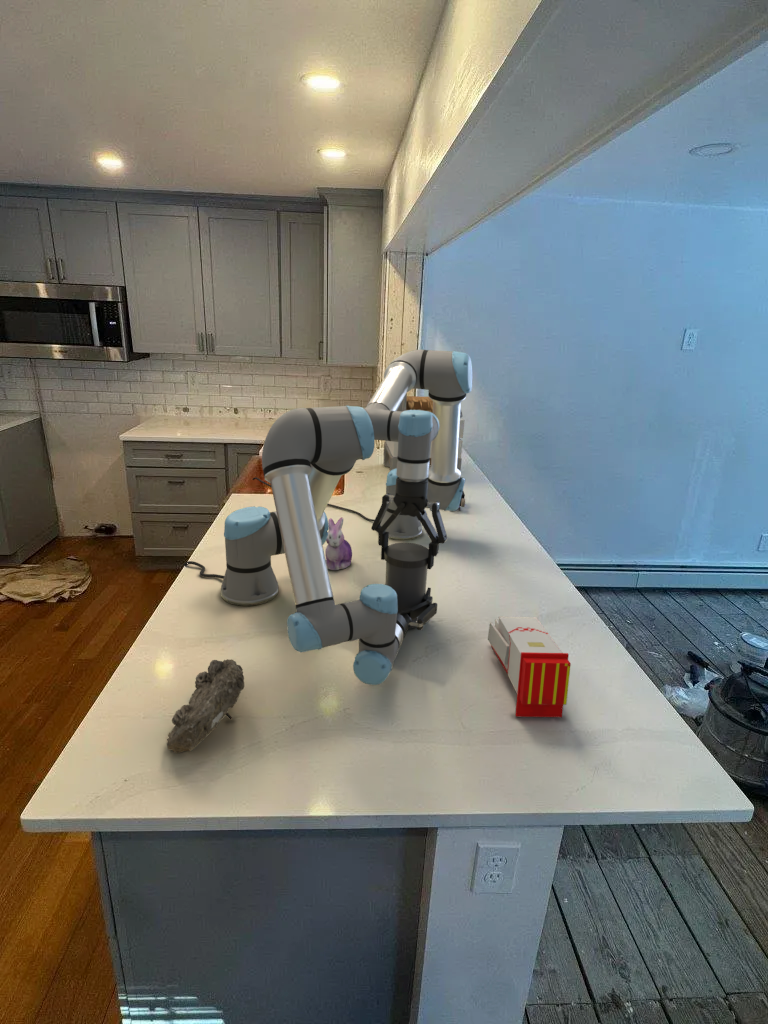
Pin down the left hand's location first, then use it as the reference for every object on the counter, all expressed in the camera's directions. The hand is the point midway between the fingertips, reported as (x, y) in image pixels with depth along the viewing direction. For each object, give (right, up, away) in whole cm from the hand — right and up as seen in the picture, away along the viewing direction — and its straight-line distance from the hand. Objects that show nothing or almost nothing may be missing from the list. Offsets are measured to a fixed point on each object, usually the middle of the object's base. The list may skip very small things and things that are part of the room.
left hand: (408, 589), depth 147 cm
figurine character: (+22, +22, +83) cm, 89 cm away
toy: (+24, -16, -23) cm, 36 cm away
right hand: (-1, +8, -7) cm, 10 cm away
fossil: (-39, -19, -39) cm, 58 cm away
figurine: (-20, +4, +27) cm, 34 cm away
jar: (-1, -7, -2) cm, 8 cm away
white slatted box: (+11, +39, +128) cm, 134 cm away
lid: (-1, +10, -8) cm, 13 cm away
